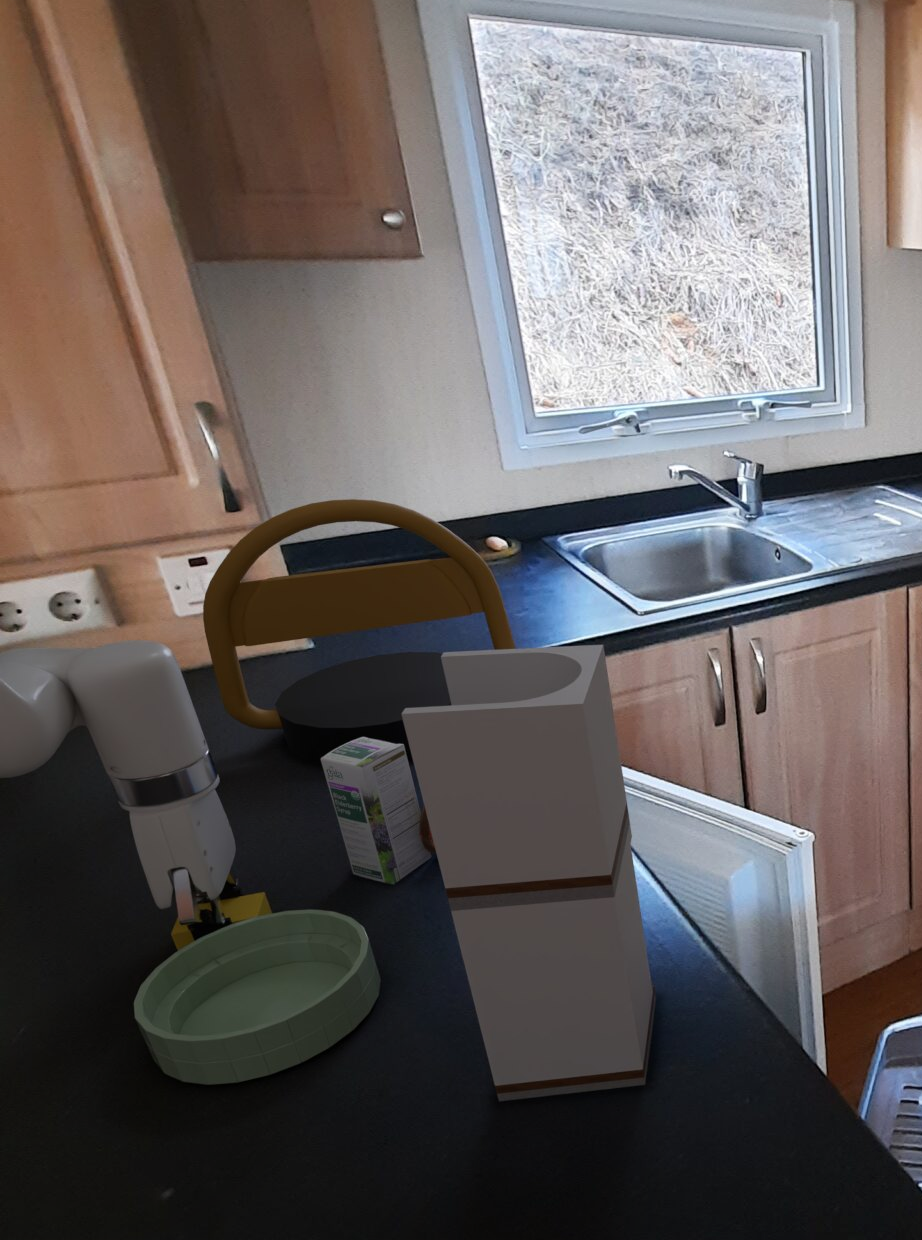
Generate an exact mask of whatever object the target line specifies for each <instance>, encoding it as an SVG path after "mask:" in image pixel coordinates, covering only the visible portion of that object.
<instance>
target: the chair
mask: <svg viewBox="0 0 922 1240" xmlns="http://www.w3.org/2000/svg"><path fill="white" fill-rule="evenodd" d="M351 522H361V523H377V524H382V525H388V526H394V527H397V528H399V529H402V530H405V531H408V532H410V533H413V534H414V535H416V536H419V537H421V538H423V539H425V540H426V541H428V542H430V543H431V544H433V545H435V547H437V548H438V549H440V550H441V551H442V552H444V553H445V554H446V555H447V556H449V557H444V558H435V559H429V558H426V559H419V560H410V561H401V562H394V563H393V562H392V563H384V564H376V565H375V564H374V565H367V566H357V567H351V568H341V569H332V570H325V571H323V570H322V571H317V572H316V571H315V572H306V573H299V574H289V575H283V576H282V575H280V576H273V577H269V578H264V579H256V580H248V581H242V580H243V579H244V577H245V576H246V575H247V573H248V571H249V570H250V568H251V567H252V566H253V565H254V564H255V563H256V562H257V561H258V559H259V558H260V557H261V556H262V555H264V554H266V552H267V551H269V550H270V549H271V548H272V547H274V546H275V545H277V544H278V543H281V542H282V541H283V540H285V539H286V538H287V539H288V538H289V537H292V536H293V535H295V534H298V533H300V532H303V531H305V530H308V529H309V530H310V529H311V528H315V527H318V526H323V525H330V524H336V523H351ZM481 613H483V614H484V618H485V620H486V624H487V628H488V631H489V635H490V639H491V642H492V646H493V650H501V649H517V648H516V644H515V639H514V637H513V632H512V629H511V625H510V621H509V618H508V613H507V610H506V606H505V602H504V600H503V596H502V592H501V589H500V587H499V584H498V581H497V579H496V578H495V576H494V573H493V571H492V570H491V568H490V567H489V565H488V564H487V562H486V561H485V559H484V558H482V557H481V555H480V554H479V553H478V552H477V551H476V550H475V549H473V547H471V546H470V545H469V544H468V543H467V542H466V541H464V540H463V539H462V538H461V537H459V536H458V535H457V534H455V533H454V532H453V531H451V529H448V528H447V527H445V525H442V524H441V523H439V522H437V521H436V520H434V519H433V518H431V517H429V516H427V515H424V514H423V513H420V512H418V511H416V510H414V509H411V508H408V507H405V506H402V505H398V504H396V503H391V502H385V501H379V500H374V499H356V498H355V499H354V498H351V499H350V498H349V499H329V500H324V501H319V502H318V501H317V502H312V503H307V504H304V505H300V506H298V507H294V508H291V509H288V510H286V511H284V512H282V513H280V514H276V515H274V516H273V517H270V518H269V519H267V520H266V521H264V522H262V523H261V524H259V525H257V526H255V527H254V528H253V529H251V530H250V531H249V532H248V533H247V534H246V535H244V536H243V537H242V538H241V539H239V541H238V542H237V543H236V544H235V545H234V546H233V548H231V550H230V551H229V552H228V553H227V554H226V556H225V557H224V559H223V560H222V562H221V563H220V564H219V566H218V567H217V569H216V571H215V572H214V574H213V576H212V577H211V579H210V581H209V583H208V586H207V588H206V590H205V593H204V600H203V605H202V620H203V629H204V634H205V638H206V643H207V647H208V651H209V655H210V660H211V663H212V667H213V671H214V676H215V679H216V683H217V686H218V691H219V694H220V697H221V698H220V699H221V701H222V704H223V707H224V710H225V711H226V714H228V716H230V717H231V718H232V719H234V720H236V722H239V723H241V724H242V725H244V726H247V727H249V728H252V729H257V730H282V732H283V735H284V737H285V741H286V744H287V747H288V749H289V753H290V755H291V756H292V757H294V758H296V759H298V760H299V761H300V762H302V763H304V764H306V765H311V766H316V767H321V768H323V766H322V763H321V758H322V757H323V756H325V755H326V754H328V753H329V752H331V751H332V750H334V749H336V748H338V747H340V746H341V745H344V744H346V743H348V742H350V741H353V740H355V739H358V738H361V737H367V738H371V739H376V740H381V741H386V742H390V743H394V744H404V747H405V751H406V755H407V759H408V762H410V761H413V758H412V754H411V750H410V746H409V742H408V738H407V734H406V730H405V726H404V722H403V718H402V712H403V711H404V709H405V708H417V707H435V706H452V704H451V700H450V695H449V691H448V687H447V682H446V678H445V673H444V669H443V664H442V660H441V656H442V654H443V653H444V652H436V651H405V652H395V653H387V654H386V653H385V654H377V655H372V656H367V657H362V658H357V659H352V660H347V661H345V662H341V663H338V664H335V665H331V666H329V667H325V668H322V669H319V670H317V671H315V672H313V673H310V674H308V675H305V676H304V677H302V678H300V679H298V680H296V681H295V682H294V683H292V684H290V685H289V686H288V687H287V688H286V689H284V690H282V691H281V692H280V694H279V696H278V698H277V699H276V701H275V704H274V705H275V708H276V709H262V708H259V707H257V706H255V705H254V704H252V703H251V702H250V700H249V697H248V692H247V689H246V685H245V681H244V677H243V673H242V669H241V664H240V661H239V657H238V653H237V648H236V647H253V646H254V647H255V646H261V645H268V644H275V643H283V642H288V641H297V640H305V639H312V638H319V637H325V636H332V635H339V634H346V633H347V634H348V633H354V632H362V631H368V630H375V629H383V628H389V627H390V628H391V627H396V626H397V627H398V626H403V625H405V626H406V625H411V624H418V623H425V622H433V621H439V620H448V619H454V618H462V617H468V616H471V615H473V614H481Z"/></svg>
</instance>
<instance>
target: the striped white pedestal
mask: <svg viewBox="0 0 922 1240" xmlns="http://www.w3.org/2000/svg"><path fill="white" fill-rule="evenodd" d="M442 653H443V654H442V656H441V660H442V664H443V669H444V673H445V678H446V682H447V687H448V691H449V695H450V700H451V704H452V706H435V707H417V708H405V709H404V711H403V712H402V718H403V722H404V726H405V730H406V734H407V738H408V742H409V746H410V750H411V754H412V758H413V760H412V761H413V766H414V769H415V773H416V779H417V782H418V786H419V790H420V793H421V798H422V801H423V806H425V810H426V814H427V818H428V822H429V826H430V830H431V834H432V838H433V842H434V846H435V850H436V853H437V854H436V857H437V861H438V865H439V869H440V873H441V877H442V881H443V885H444V889H445V893H446V897H447V901H448V905H449V909H450V912H451V917H452V921H453V925H454V929H455V932H456V937H457V940H458V944H459V948H460V952H461V956H462V961H463V964H464V969H465V972H466V976H467V980H468V985H469V988H470V992H471V997H472V1001H473V1004H474V1008H475V1012H476V1016H477V1019H478V1024H479V1028H480V1032H481V1036H482V1040H483V1044H484V1048H485V1051H486V1056H487V1059H488V1064H489V1068H490V1072H491V1076H492V1080H493V1084H494V1087H495V1091H496V1095H497V1099H498V1100H497V1101H498V1102H505V1101H506V1102H507V1101H514V1100H524V1099H532V1098H540V1097H548V1096H558V1095H568V1094H576V1093H584V1092H592V1091H601V1090H612V1089H620V1088H629V1087H636V1086H645V1085H646V1083H647V1082H646V1081H647V1074H648V1073H647V1072H648V1065H649V1058H650V1049H651V1041H652V1035H653V1033H652V1032H653V1026H654V1020H655V1019H654V1017H655V1010H656V1001H657V995H656V989H655V988H656V987H655V983H652V978H651V972H650V965H649V964H650V963H649V958H648V951H647V944H646V939H645V938H646V937H645V930H644V924H643V917H642V911H641V904H640V897H639V891H638V885H637V878H636V872H635V871H636V870H635V865H634V857H633V852H632V845H631V843H632V839H633V834H632V833H633V832H632V827H631V821H630V820H631V819H630V815H629V807H628V801H627V795H626V794H627V793H626V787H625V780H624V773H623V767H622V762H621V761H622V760H621V752H620V748H619V741H618V733H617V725H616V720H615V713H614V706H613V700H612V693H611V687H610V681H609V673H608V666H607V660H606V653H605V647H604V644H590V645H589V644H587V645H571V646H570V645H569V646H567V645H565V646H547V647H545V646H544V647H526V648H525V647H524V648H516V649H501V650H494V649H483V650H465V651H464V650H462V651H444V652H442Z"/></svg>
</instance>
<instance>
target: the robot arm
mask: <svg viewBox="0 0 922 1240" xmlns="http://www.w3.org/2000/svg"><path fill="white" fill-rule="evenodd" d="M80 726H83V727H86V728H87V730H88V732H89V734H90V737H91V739H92V741H93V745H94V746H95V749H96V751H97V753H98V756H99V758H100V761H101V763H102V765H103V768H104V770H105V773H106V775H107V777H108V779H109V782H110V784H111V787H112V789H113V792H114V794H115V796H116V799H117V801H118V804H119V806H120V808H121V809H122V810H124V811H127V812H129V822H130V827H131V831H132V836H133V839H134V844H135V848H136V852H137V854H138V857H139V860H140V864H141V867H142V869H143V872H144V875H145V878H146V881H147V885H148V887H149V891H150V893H151V896H152V898H153V900H154V903H155V905H156V907H158V909H160V910H167V909H168V908H171V907H172V905H173V903H174V900H175V902H176V909H177V918H179V922H180V924H181V925H187V927H188V930H189V931H191V934H192V936H193V939H194V941H196V940H198V939H199V938H201V937H203V936H205V935H208V934H210V933H212V932H215V931H217V930H219V929H222V928H224V927H226V926H228V925H231V924H233V923H232V921H231V918H230V917H228V918H225V914H224V911H223V907H222V904H221V900H225V899H231V898H236V897H240V896H244V894H243V893H244V892H243V891H242V888H241V887H238V886H239V878H238V875H237V874H236V871H235V869H234V868H233V863H234V860H235V856H236V851H237V846H236V840H235V837H234V834H233V831H232V827H231V824H230V820H229V819H228V815H227V813H226V812H225V809H224V806H223V804H222V802H221V799H220V797H219V795H218V793H217V790H216V789H217V787H218V786H219V784H220V779H221V778H220V777H219V776H220V775H219V773H218V770H217V768H216V766H215V763H214V759H213V757H212V753H211V752H210V748H209V746H208V743H207V740H206V738H205V737H206V736H205V735H204V732H203V730H202V726H201V723H200V721H199V718H198V714H197V713H196V709H195V707H194V703H193V702H192V698H191V696H190V692H189V689H188V687H187V684H186V681H185V678H184V676H183V673H182V670H181V667H180V665H179V662H178V659H177V658H176V655H175V654H174V653H173V651H172V650H171V649H170V648H169V647H168V646H167V645H165V644H163V643H161V642H159V641H154V640H148V639H130V640H128V639H127V640H120V641H114V642H110V643H105V644H102V645H98V646H94V647H42V646H41V647H40V646H39V647H37V646H35V647H34V646H33V647H20V648H19V647H18V648H12V649H7V650H3V651H1V652H0V779H8V778H9V779H10V778H16V777H19V776H24V775H26V774H29V773H31V772H34V771H35V770H37V769H39V768H40V767H42V766H43V765H45V764H46V763H47V762H48V761H50V759H51V758H52V757H53V756H54V755H55V753H56V752H57V750H58V749H59V748H60V747H61V744H62V743H63V742H64V740H65V738H66V737H67V735H68V733H69V732H71V731H73V730H74V729H75V728H77V727H80ZM197 891H200V892H201V893H197ZM209 902H210V905H211V909H212V911H211V910H209V909H203V910H201V909H199V907H198V904H203V903H209Z"/></svg>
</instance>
